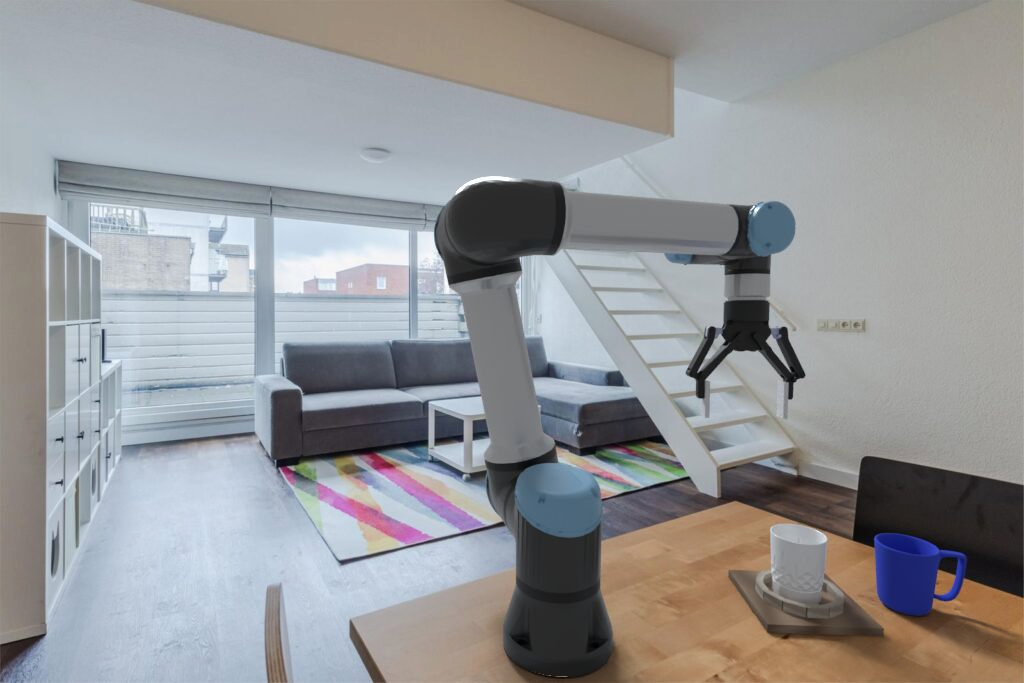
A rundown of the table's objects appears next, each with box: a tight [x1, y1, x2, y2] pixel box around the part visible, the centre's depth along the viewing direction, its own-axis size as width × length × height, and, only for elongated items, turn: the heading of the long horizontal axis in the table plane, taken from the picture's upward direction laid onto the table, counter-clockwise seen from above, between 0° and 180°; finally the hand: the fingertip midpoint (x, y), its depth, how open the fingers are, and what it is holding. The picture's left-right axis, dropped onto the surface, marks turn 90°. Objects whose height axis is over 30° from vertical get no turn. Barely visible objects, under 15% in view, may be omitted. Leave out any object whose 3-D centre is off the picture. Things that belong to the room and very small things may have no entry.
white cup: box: [769, 523, 829, 605], centre depth 83 cm, size 8×8×10 cm
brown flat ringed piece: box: [727, 568, 885, 638], centre depth 83 cm, size 16×16×3 cm
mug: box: [873, 532, 968, 617], centre depth 82 cm, size 8×12×10 cm
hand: (743, 417), depth 96 cm, fingers open, 13 cm apart
